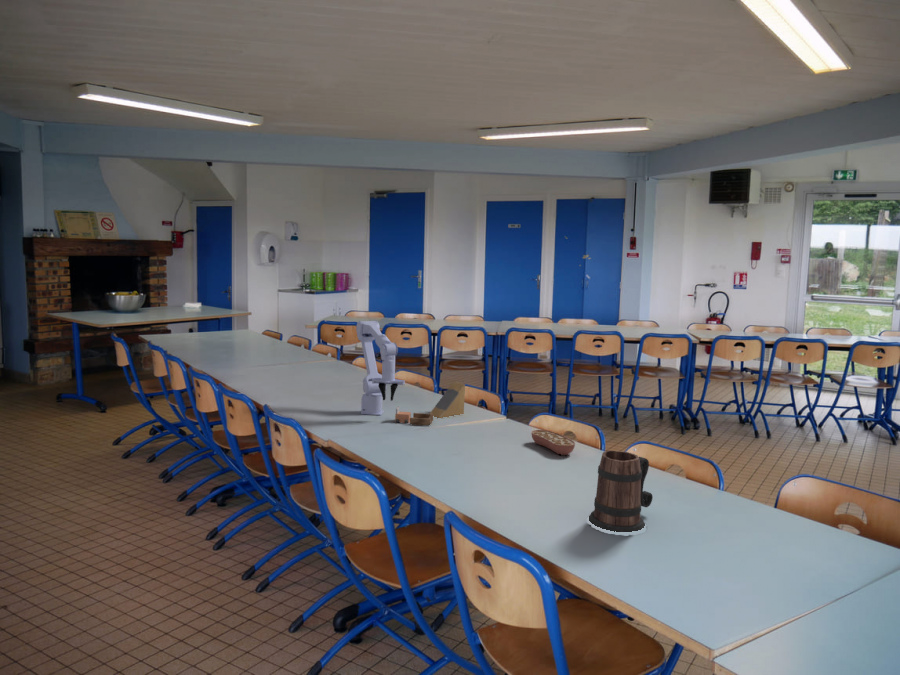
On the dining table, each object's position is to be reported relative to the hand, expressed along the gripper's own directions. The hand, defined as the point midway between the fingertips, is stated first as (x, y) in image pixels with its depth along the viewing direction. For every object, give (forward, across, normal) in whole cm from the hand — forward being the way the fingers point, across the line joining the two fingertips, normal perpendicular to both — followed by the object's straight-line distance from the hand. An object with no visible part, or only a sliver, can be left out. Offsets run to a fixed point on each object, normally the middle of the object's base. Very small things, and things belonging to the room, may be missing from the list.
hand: (388, 400), depth 289 cm
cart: (+10, +7, 0) cm, 12 cm away
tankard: (+10, +90, -96) cm, 132 cm away
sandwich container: (+10, +24, +17) cm, 31 cm away
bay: (+9, +16, 0) cm, 18 cm away
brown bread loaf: (+10, +72, -28) cm, 78 cm away
